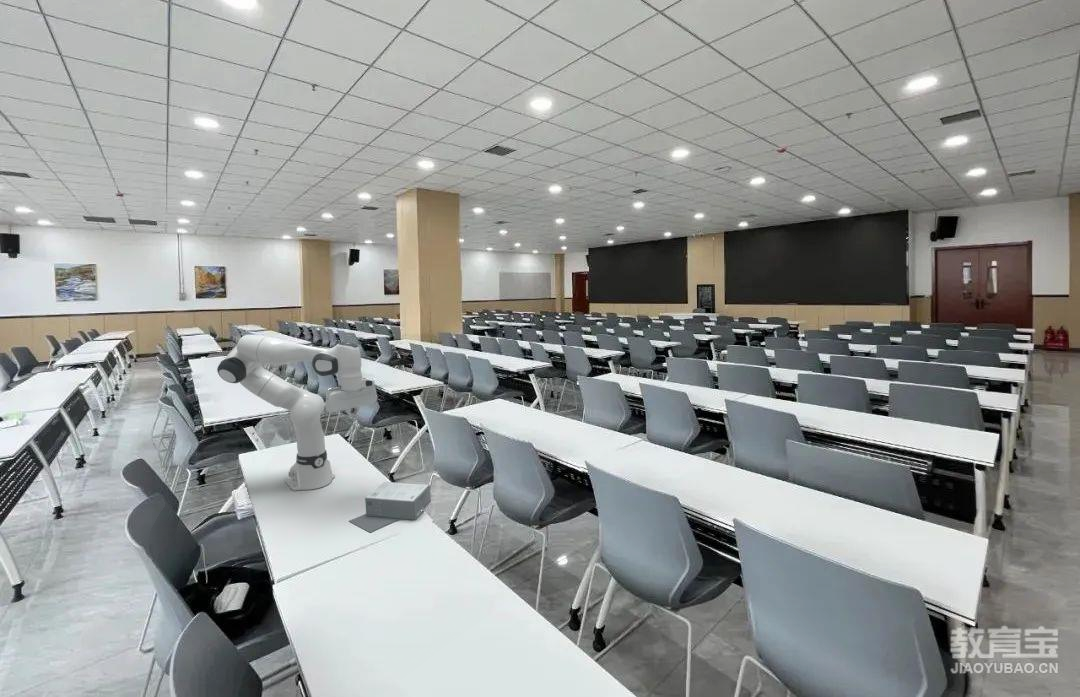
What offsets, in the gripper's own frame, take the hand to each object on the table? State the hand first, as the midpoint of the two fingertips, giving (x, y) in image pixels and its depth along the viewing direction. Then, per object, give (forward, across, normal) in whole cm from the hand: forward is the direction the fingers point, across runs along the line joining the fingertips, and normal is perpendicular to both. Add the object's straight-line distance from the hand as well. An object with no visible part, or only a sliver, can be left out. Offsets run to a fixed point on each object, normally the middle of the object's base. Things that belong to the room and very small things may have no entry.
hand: (353, 418), depth 198 cm
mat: (+35, 0, -18) cm, 39 cm away
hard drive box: (+31, +2, -9) cm, 32 cm away
